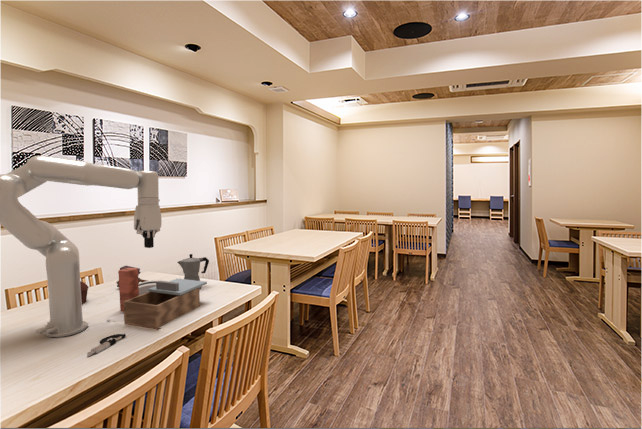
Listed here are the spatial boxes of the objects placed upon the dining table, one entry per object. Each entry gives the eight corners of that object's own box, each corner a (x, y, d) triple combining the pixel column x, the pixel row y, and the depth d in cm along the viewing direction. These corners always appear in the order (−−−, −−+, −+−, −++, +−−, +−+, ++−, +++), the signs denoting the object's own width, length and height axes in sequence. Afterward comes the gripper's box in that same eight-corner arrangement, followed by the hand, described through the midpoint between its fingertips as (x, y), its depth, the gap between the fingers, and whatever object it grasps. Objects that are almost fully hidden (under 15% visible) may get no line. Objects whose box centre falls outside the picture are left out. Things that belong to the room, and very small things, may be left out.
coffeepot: (179, 293, 174) (178, 257, 172) (176, 288, 182) (175, 253, 180) (211, 288, 182) (211, 253, 180) (207, 284, 190) (206, 250, 188)
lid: (180, 295, 141) (179, 285, 141) (148, 291, 146) (147, 281, 146) (206, 283, 157) (206, 275, 157) (177, 280, 162) (176, 272, 162)
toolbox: (158, 330, 130) (157, 306, 130) (124, 324, 136) (123, 301, 135) (199, 308, 153) (199, 287, 152) (169, 304, 158) (169, 284, 157)
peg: (129, 314, 146) (127, 271, 144) (120, 313, 147) (118, 270, 146) (139, 310, 150) (137, 268, 149) (130, 309, 152) (128, 267, 150)
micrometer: (111, 335, 127) (111, 328, 126) (128, 337, 125) (128, 330, 125) (73, 355, 112) (72, 347, 112) (91, 358, 110) (91, 350, 110)
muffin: (94, 302, 160) (92, 280, 159) (65, 309, 151) (64, 286, 150) (82, 297, 167) (80, 276, 166) (54, 304, 158) (52, 282, 157)
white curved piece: (172, 294, 172) (171, 276, 168) (172, 300, 168) (171, 282, 164) (133, 298, 166) (132, 280, 162) (132, 304, 162) (131, 286, 158)
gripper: (155, 201, 150) (156, 244, 152) (125, 202, 136) (126, 249, 138) (169, 201, 148) (170, 245, 149) (139, 202, 134) (140, 251, 135)
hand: (148, 247), depth 143 cm, fingers closed
